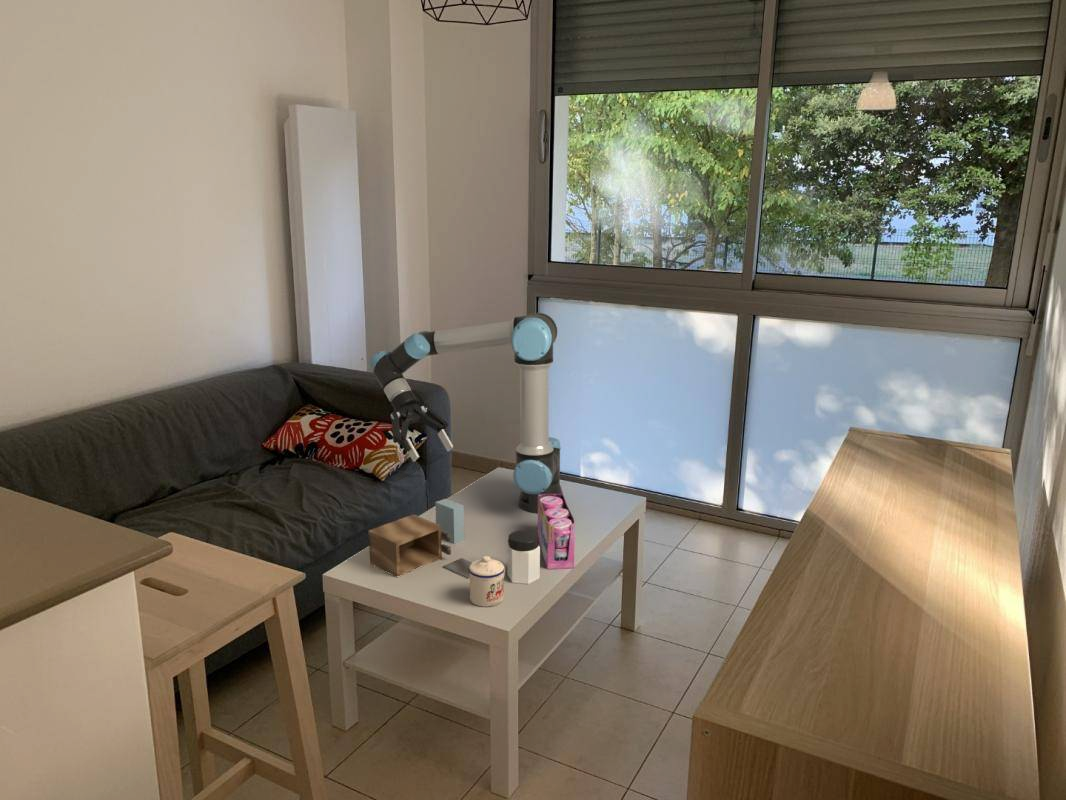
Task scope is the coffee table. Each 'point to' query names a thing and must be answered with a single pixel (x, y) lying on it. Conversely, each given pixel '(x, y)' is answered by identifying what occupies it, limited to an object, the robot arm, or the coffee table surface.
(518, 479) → the robot arm
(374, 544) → the cabinet
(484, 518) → the coffee table surface
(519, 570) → the jar
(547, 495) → the gum box
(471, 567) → the teacup with lid
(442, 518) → the door panel
